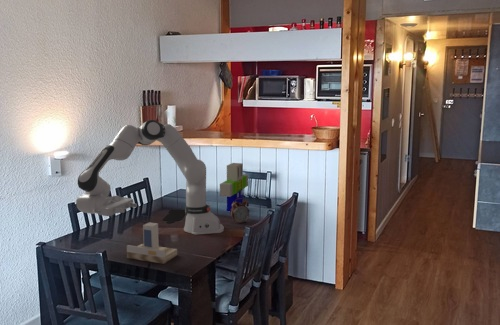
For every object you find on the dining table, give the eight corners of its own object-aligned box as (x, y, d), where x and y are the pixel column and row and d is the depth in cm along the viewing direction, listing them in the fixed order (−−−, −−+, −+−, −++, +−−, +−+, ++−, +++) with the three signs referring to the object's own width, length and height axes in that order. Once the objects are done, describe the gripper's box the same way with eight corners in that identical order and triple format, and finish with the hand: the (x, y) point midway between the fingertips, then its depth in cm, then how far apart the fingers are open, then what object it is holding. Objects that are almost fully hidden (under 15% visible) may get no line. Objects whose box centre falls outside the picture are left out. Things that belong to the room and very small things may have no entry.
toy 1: (189, 210, 307) (177, 223, 278) (189, 210, 307) (177, 224, 278) (170, 209, 308) (157, 222, 279) (170, 210, 308) (157, 223, 279)
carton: (149, 248, 227) (149, 222, 225) (158, 249, 225) (158, 223, 223) (143, 252, 222) (142, 225, 220) (152, 253, 221) (151, 226, 218)
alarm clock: (233, 225, 276) (233, 199, 273) (229, 222, 280) (229, 198, 277) (250, 222, 280) (250, 198, 278) (246, 220, 284) (246, 196, 282)
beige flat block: (177, 255, 227) (176, 243, 226) (163, 264, 216) (163, 251, 215) (141, 249, 234) (141, 238, 233) (126, 258, 223) (126, 246, 222)
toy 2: (230, 217, 291) (230, 169, 286) (220, 216, 294) (219, 168, 289) (248, 204, 323) (248, 160, 318) (238, 203, 325) (238, 160, 320)
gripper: (91, 204, 219) (116, 207, 214) (118, 194, 238) (142, 196, 233) (92, 218, 220) (117, 220, 215) (119, 207, 239) (142, 209, 234)
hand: (130, 208), depth 224 cm, fingers open, 8 cm apart
